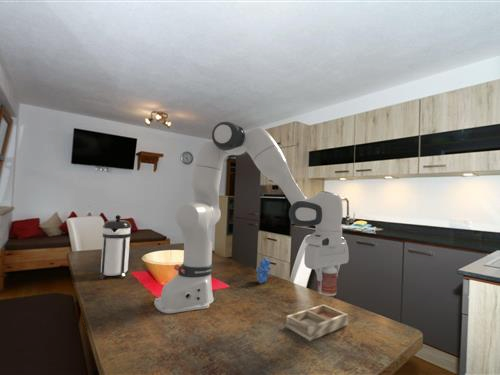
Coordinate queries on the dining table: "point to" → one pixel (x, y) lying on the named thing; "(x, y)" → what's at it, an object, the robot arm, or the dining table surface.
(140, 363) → the dining table surface
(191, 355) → the dining table surface
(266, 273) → the grapes
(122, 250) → the coffee press
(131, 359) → the dining table surface
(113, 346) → the dining table surface
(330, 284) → the pill bottle
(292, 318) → the tray
